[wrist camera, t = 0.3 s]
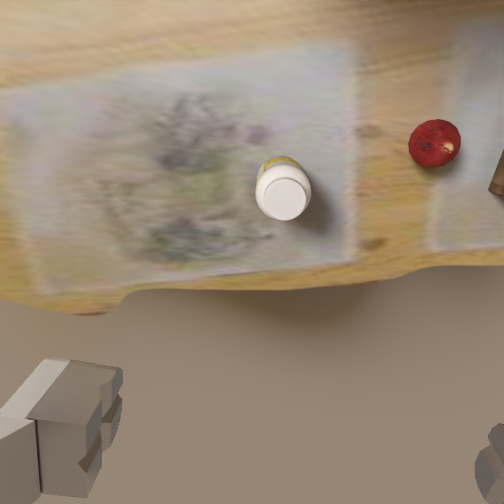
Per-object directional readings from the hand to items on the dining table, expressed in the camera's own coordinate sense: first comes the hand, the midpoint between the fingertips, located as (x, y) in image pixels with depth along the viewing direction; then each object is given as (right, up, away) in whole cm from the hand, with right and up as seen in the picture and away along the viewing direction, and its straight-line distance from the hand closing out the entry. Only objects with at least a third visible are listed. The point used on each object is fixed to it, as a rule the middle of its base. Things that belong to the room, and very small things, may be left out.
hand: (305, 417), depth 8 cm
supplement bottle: (+3, +14, +45) cm, 47 cm away
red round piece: (+22, +19, +43) cm, 51 cm away
